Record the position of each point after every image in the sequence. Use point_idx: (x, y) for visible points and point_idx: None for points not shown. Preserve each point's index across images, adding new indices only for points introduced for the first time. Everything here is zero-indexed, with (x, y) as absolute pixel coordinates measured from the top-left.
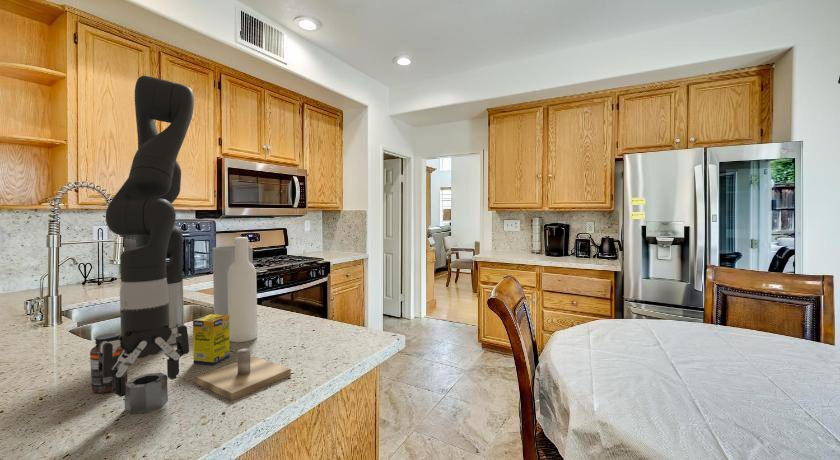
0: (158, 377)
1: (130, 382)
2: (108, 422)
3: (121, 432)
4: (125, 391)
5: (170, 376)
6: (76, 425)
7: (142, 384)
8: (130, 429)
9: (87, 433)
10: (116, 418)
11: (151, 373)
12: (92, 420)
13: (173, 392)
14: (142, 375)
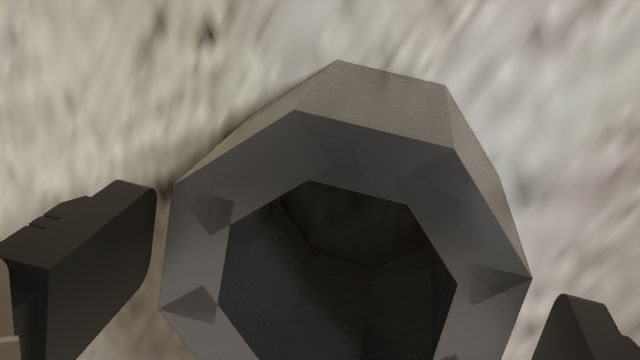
0: (440, 329)
1: (225, 204)
2: (122, 169)
3: (108, 338)
4: (126, 299)
5: (545, 353)
6: (5, 9)
7: (249, 351)
8: (145, 355)
9: (10, 179)
10: (169, 167)
11: (477, 197)
12: (82, 40)
13: (595, 191)
14: (399, 148)
